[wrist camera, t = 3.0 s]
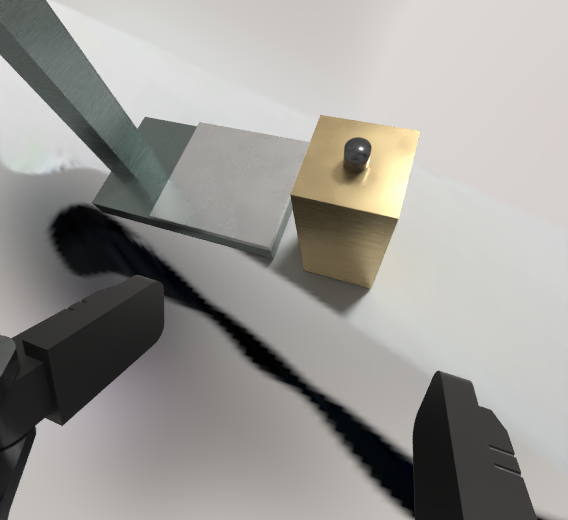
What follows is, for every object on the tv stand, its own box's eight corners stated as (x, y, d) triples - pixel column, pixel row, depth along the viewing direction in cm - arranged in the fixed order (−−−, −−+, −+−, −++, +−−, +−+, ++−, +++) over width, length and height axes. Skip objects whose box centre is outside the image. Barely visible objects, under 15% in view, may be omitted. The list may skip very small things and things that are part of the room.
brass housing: (386, 228, 25) (425, 115, 15) (371, 288, 24) (403, 206, 14) (323, 213, 26) (320, 99, 16) (304, 270, 25) (287, 181, 15)
